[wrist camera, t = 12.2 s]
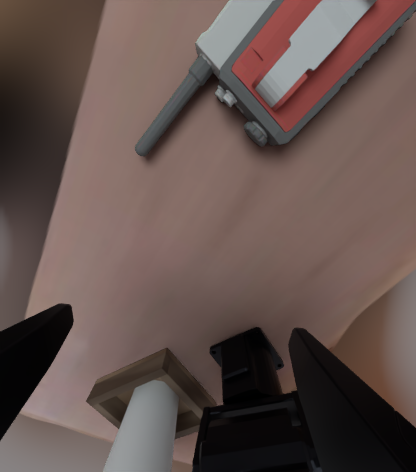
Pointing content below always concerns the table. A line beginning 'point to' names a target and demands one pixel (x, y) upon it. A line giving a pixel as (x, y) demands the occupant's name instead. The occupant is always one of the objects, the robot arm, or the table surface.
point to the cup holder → (143, 371)
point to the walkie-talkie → (282, 60)
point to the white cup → (146, 431)
